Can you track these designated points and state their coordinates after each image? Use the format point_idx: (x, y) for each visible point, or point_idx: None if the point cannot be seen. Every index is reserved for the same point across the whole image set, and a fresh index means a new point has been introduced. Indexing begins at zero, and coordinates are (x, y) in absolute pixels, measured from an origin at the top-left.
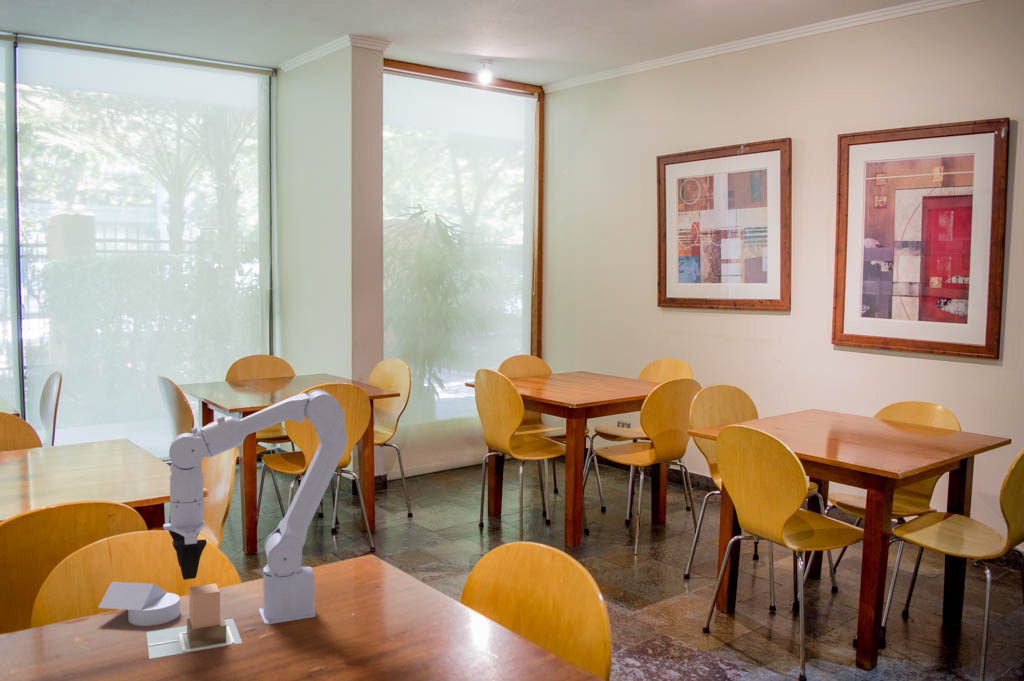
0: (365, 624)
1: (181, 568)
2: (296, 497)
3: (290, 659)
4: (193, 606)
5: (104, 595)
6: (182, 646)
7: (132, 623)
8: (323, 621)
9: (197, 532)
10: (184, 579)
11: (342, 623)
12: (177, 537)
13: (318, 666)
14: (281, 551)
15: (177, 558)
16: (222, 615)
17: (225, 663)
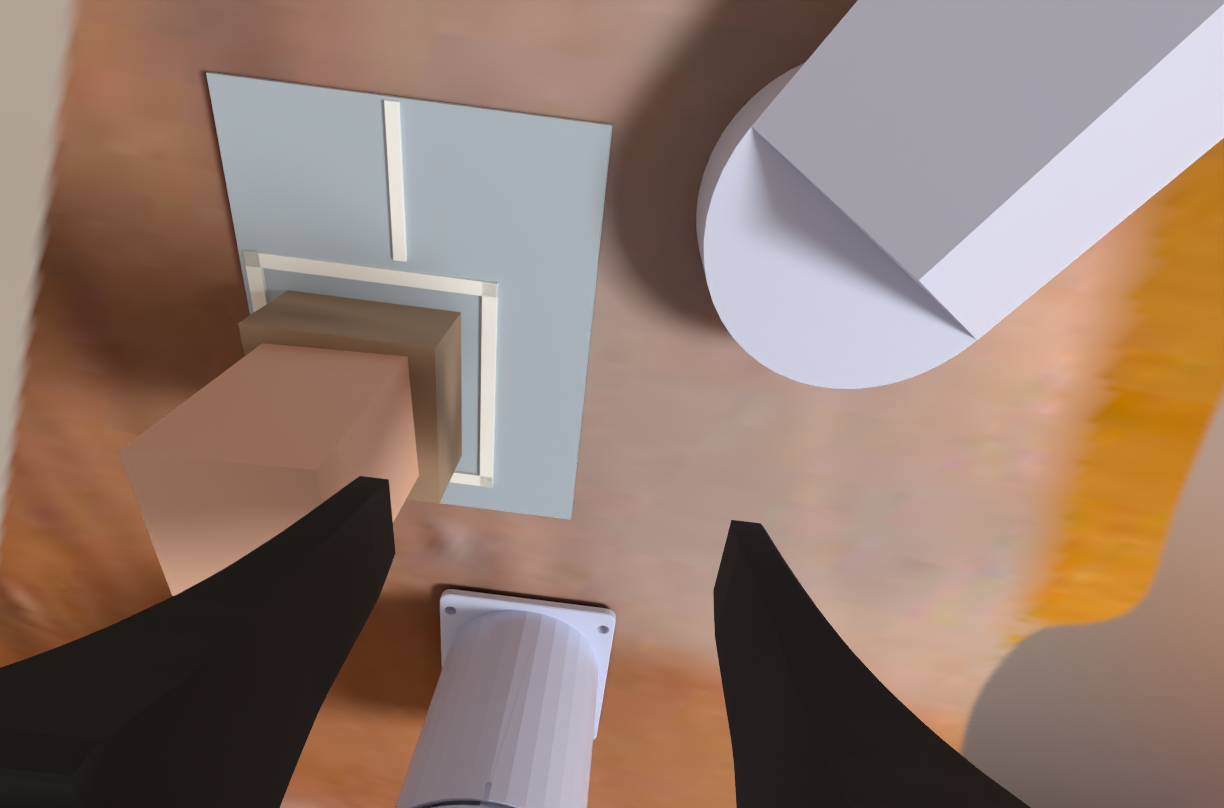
0: (336, 780)
1: (282, 532)
2: None
3: (109, 564)
4: (178, 411)
5: None
6: (310, 263)
7: (802, 65)
8: (410, 718)
9: None
10: (354, 481)
11: (370, 746)
12: (802, 796)
13: (38, 608)
14: None
15: (773, 562)
16: (410, 499)
17: (115, 381)
